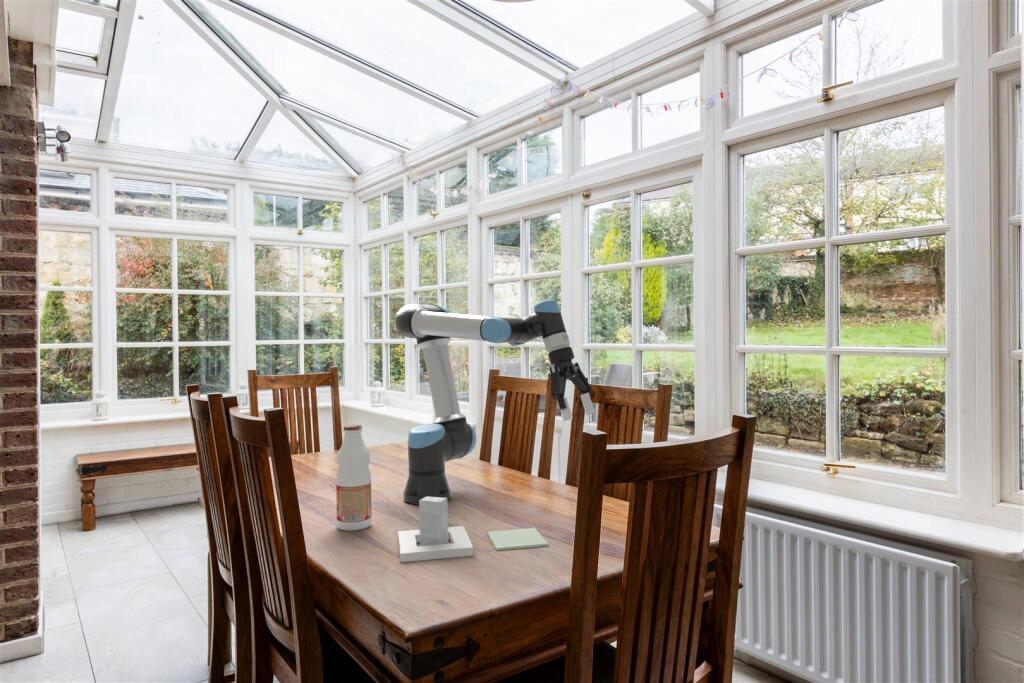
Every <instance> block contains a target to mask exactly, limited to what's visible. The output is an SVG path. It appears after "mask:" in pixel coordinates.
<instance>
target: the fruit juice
mask: <svg viewBox="0 0 1024 683" xmlns="http://www.w3.org/2000/svg"><path fill="white" fill-rule="evenodd" d="M362 431H363V425H362V424H346V425H344V426H343V432H344V438H343V441H342V444H341V447H340V448H339V450H338V451H337V453H336V460H335V461H336V463H337V464H336V465H337V467H338V468H337V472H336V478H335V479H336V480H335V486H336V488H335V489H336V492H335V493H336V499H335V500H336V501H335V502H336V527H337V529H339V530H342V531H346V532H347V531H348V532H350V531H351V532H352V531H353V532H354V531H361V530H364V529H367V528H369V527H370V526H371V525H372V520H373V518H372V516H373V515H372V514H373V512H372V511H373V510H372V475H371V474H372V473H371V470H370V466H369V465H370V460H371V454H370V451H369V449H368V448H367V446H366V444H365V442H364V438H363V437H362Z"/></svg>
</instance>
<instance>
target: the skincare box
mask: <svg viewBox="0 0 1024 683" xmlns="http://www.w3.org/2000/svg"><path fill="white" fill-rule="evenodd" d="M448 506H449V505H448V500H447V498H440V497H425V498H423V499H421V500H419V504H418V507H419V508H418V509H419V514H418V515H419V530H420V542H419V546H428V545H440V544H449V540H448V527H449V516H448V515H449V511H448V508H449V507H448Z"/></svg>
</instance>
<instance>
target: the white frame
mask: <svg viewBox="0 0 1024 683" xmlns="http://www.w3.org/2000/svg"><path fill="white" fill-rule="evenodd" d="M397 538H398V541H397V542H398V547H399V557H400V558H399V560H400V563H409V562H417V561H418V562H420V561H429V560H430V561H432V560H439V559H442V560H443V559H448V558H449V559H451V558H462V557H463V558H464V557H473V556H474V545H473V544H472V541H471V539H470V537H469V535H468V533H467V531H466V529H465V527H464V525H462V526H461V525H460V526H450V527H449V526H448V541H450V543H448V544H440V545H428V546H420V545H419V546H418V544H417V543H420V529H410V530H409V529H408V530H398V531H397Z"/></svg>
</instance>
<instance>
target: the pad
mask: <svg viewBox="0 0 1024 683" xmlns="http://www.w3.org/2000/svg"><path fill="white" fill-rule="evenodd" d="M486 534H488V535H487V536H488V538H489V540H490V542H491V541H492V542H491V543H492V546H493V547H494V548H495V550H496V551H497V550H498V551H506V550H508V551H509V550H516V549H519V550H520V549H528V548H529V549H531V548H538V547H539V548H541V547H549V542H547V540H546V539H545V538H544V537H543V536H542V534H541V533H540V532H539V530H538V529H537V528H536V527H530V528H529V527H528V528H517V529H507V530H506V529H505V530H504V529H503V530H494V531H492V530H491V531H487V532H486Z"/></svg>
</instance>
